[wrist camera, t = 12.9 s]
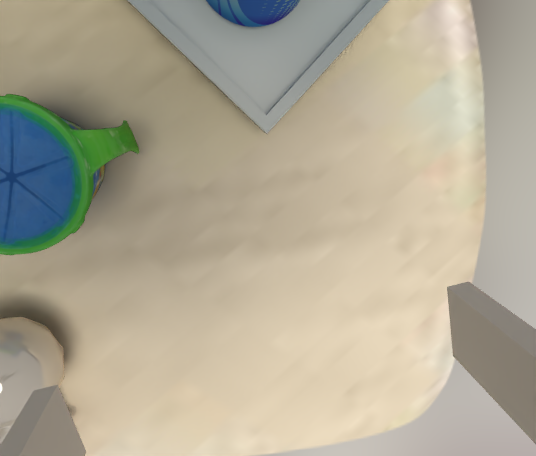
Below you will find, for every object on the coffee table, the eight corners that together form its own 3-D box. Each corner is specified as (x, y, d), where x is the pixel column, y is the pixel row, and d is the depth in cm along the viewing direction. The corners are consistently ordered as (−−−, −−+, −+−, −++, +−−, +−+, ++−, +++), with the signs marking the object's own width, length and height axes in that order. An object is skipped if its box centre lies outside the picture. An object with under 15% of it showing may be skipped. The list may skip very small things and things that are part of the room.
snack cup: (132, 81, 37) (95, 69, 27) (166, 199, 40) (145, 227, 30) (-49, 122, 37) (-152, 125, 27) (-2, 239, 40) (-79, 280, 30)
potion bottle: (37, 284, 42) (69, 404, 48) (-87, 324, 37) (-34, 455, 42) (68, 324, 36) (101, 457, 41) (-78, 380, 30) (-17, 527, 35)
